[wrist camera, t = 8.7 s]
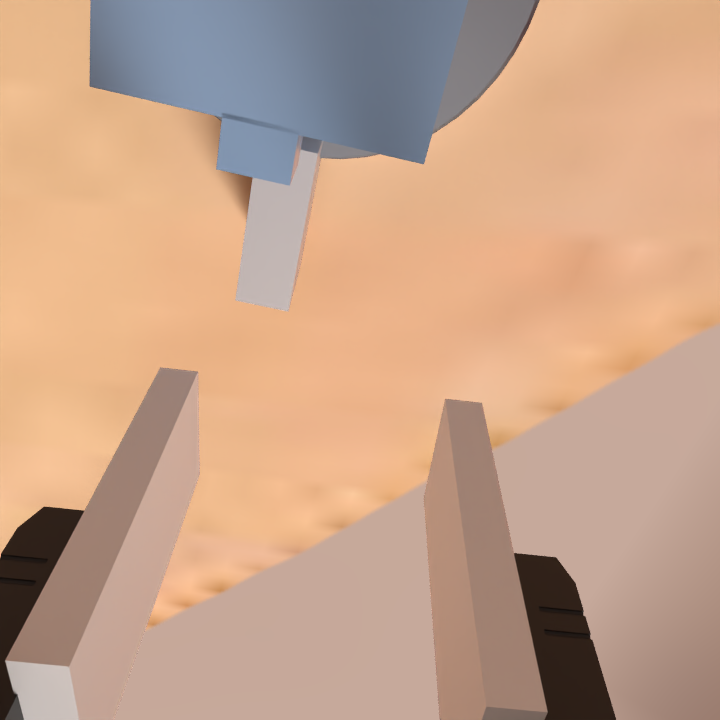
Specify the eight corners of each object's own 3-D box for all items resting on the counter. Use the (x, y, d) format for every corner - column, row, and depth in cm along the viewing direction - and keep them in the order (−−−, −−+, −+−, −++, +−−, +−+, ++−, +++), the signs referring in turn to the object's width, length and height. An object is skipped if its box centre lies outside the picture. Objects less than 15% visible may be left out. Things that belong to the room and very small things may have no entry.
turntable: (613, -276, 20) (665, -328, 16) (435, 293, 30) (442, 344, 26) (133, -420, 19) (70, -511, 15) (113, 223, 28) (72, 266, 25)
